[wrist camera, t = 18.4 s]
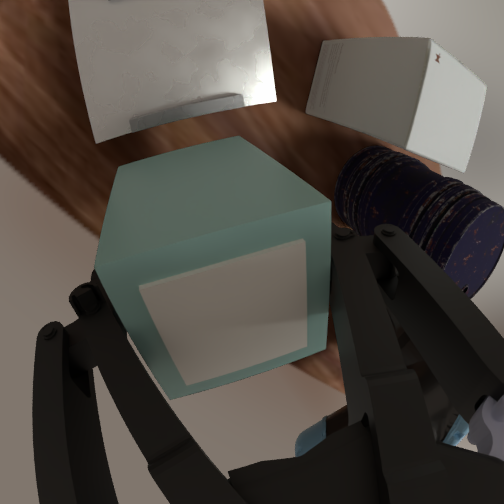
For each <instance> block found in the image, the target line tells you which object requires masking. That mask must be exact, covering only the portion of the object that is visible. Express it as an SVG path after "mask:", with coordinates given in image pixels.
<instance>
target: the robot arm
mask: <svg viewBox="0 0 504 504" xmlns="http://www.w3.org/2000/svg"><path fill="white" fill-rule="evenodd" d="M329 301H330V306H331V312H332V317H333V322H334V328H335V333H336V339H337V344H338V350H339V356H340V362H341V368H342V374H343V381H344V387H345V394H346V401H347V405H346V406H344V407H342V408H341V409H339V410H337V411H336V412H334V413H332V414H331V415H329V416H325V417H323V419H322V420H321V421H319V422H318V423H316V424H314V425H313V426H311V427H309V428H308V429H306V430H305V431H303V432H302V433H301V434H300V435H299V436H298V438H297V440H296V444H295V455H296V457H293V458H286V459H277V460H268V461H261V462H257V463H254V464H251V465H248V466H245V467H241V468H238V469H234V470H231V471H228V474H229V477H230V478H229V479H226V477H225V476H224V475H223V474H222V473H221V472H220V471H219V469H218V468H217V467H216V466H215V465H214V463H213V462H212V461H211V460H210V459H209V457H208V456H207V455H206V454H205V453H204V451H203V450H202V449H201V447H200V446H199V445H198V444H197V442H196V441H195V440H194V439H193V437H192V436H191V435H190V433H189V432H188V431H187V429H186V428H185V427H184V425H183V424H182V422H181V421H180V420H179V418H178V417H177V416H176V414H175V413H174V411H173V410H172V409H171V407H170V406H169V404H168V403H167V401H166V400H165V399H164V397H163V396H162V394H161V393H160V391H159V390H158V388H157V387H156V385H155V384H154V382H153V381H152V379H151V378H150V376H149V374H148V373H147V371H146V370H145V368H144V366H143V365H142V363H141V361H140V360H139V358H138V356H137V355H136V353H135V352H134V350H133V348H132V346H131V345H130V343H129V341H128V340H127V330H126V328H125V327H124V325H123V323H122V321H121V319H120V318H119V316H118V314H117V312H116V310H115V308H114V306H113V304H112V303H111V301H110V299H109V297H108V295H107V293H106V291H105V289H104V287H103V285H102V283H101V281H100V279H99V277H98V275H97V272H96V270H95V269H94V270H93V272H92V276H91V281H90V282H87V283H84V284H81V285H79V286H78V287H77V288H75V289H74V290H73V291H72V292H71V294H70V296H69V302H70V304H71V306H72V307H73V309H74V310H75V312H76V314H77V316H78V317H79V319H77V320H76V321H74V322H73V323H71V324H69V325H67V326H66V327H63V325H62V324H61V323H60V322H57V321H54V322H50V323H48V324H46V325H45V326H44V327H43V328H42V329H41V330H40V331H39V333H38V336H37V341H36V351H35V362H34V377H33V407H32V410H33V412H32V417H33V448H34V461H35V472H36V481H37V489H38V496H39V503H40V504H118V500H117V497H116V493H115V489H114V485H113V482H112V478H111V474H110V470H109V465H108V461H107V457H106V452H105V447H104V442H103V437H102V432H101V426H100V420H99V414H98V407H97V401H96V393H95V385H94V377H93V369H92V368H94V367H96V366H98V368H99V370H100V373H101V375H102V377H103V379H104V381H105V383H106V386H107V388H108V390H109V392H110V394H111V396H112V398H113V400H114V402H115V404H116V406H117V408H118V410H119V412H120V414H121V416H122V418H123V420H124V422H125V424H126V426H127V427H128V429H129V431H130V433H131V434H132V436H133V438H134V440H135V441H136V443H137V445H138V447H139V448H140V450H141V452H142V454H143V455H144V457H145V458H146V460H147V462H148V470H149V472H150V474H151V476H152V478H153V479H154V481H155V482H156V484H157V485H158V487H159V488H160V490H161V491H162V493H163V494H164V495H165V497H166V499H167V500H168V501H169V503H170V504H504V338H503V337H502V336H501V335H500V334H499V333H498V331H497V330H496V329H495V327H494V326H493V325H492V324H491V323H490V321H489V320H488V319H487V318H486V317H485V316H484V314H483V313H482V312H481V311H480V310H479V309H478V307H477V306H476V305H475V304H474V303H473V302H472V301H471V300H470V298H469V297H468V296H467V295H466V294H465V293H464V292H463V291H462V290H461V289H460V287H459V286H458V285H457V284H456V283H455V282H454V281H453V280H452V279H451V278H450V277H449V276H448V275H447V274H446V273H445V272H444V271H443V270H442V269H441V268H440V267H439V266H438V265H437V264H436V263H435V261H434V260H433V259H432V258H430V257H429V256H428V255H427V254H426V253H425V252H424V251H423V250H422V249H421V248H420V247H419V246H418V245H417V244H416V243H415V242H414V241H413V240H412V239H411V238H410V237H409V236H408V235H407V234H406V233H405V232H403V231H402V230H401V229H400V228H399V227H397V226H394V225H392V224H381V225H378V226H376V227H375V228H374V235H369V236H358V235H357V233H356V232H355V231H353V230H351V229H348V228H338V227H337V226H336V225H335V224H334V223H333V222H332V221H331V264H330V291H329ZM129 336H130V335H129ZM467 434H468V437H467V438H468V441H469V442H470V443H471V444H473V445H476V446H477V449H478V452H474V451H471V450H467V449H463V448H459V447H456V445H457V444H458V443H459V442H460V441H461V440H462V439H463V438H464V437H465V436H466V435H467Z"/></svg>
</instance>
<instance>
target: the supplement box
mask: <svg viewBox="0 0 504 504" xmlns="http://www.w3.org/2000/svg"><path fill="white" fill-rule="evenodd" d="M486 90H487V86H486V84H485V83H484V82H483V81H482V80H481V79H480V78H478V77H477V76H476V75H475V74H474V73H473V72H472V71H471V70H469V69H468V68H467V67H466V66H465V65H464V64H463V63H462V62H461V61H459V60H458V59H456V58H455V57H454V56H453V55H452V54H450V53H449V52H448V51H447V50H445V49H444V48H443V47H441V46H440V45H439V44H437V43H436V42H435V41H434V40H432V39H431V38H418V37H368V38H350V39H336V40H326V41H325V40H324V41H323V42H322V46H321V50H320V54H319V58H318V62H317V66H316V70H315V74H314V78H313V82H312V86H311V90H310V94H309V98H308V102H307V106H306V114H309V115H312V116H315V117H318V118H321V119H324V120H328V121H331V122H333V123H336V124H339V125H342V126H345V127H348V128H351V129H354V130H356V131H359V132H362V133H364V134H367V135H370V136H372V137H375V138H377V139H380V140H383V141H385V142H388V143H390V144H393V145H395V146H397V147H400V148H402V149H404V150H407V151H409V152H411V153H414V154H416V155H419V156H421V157H424V158H426V159H429V160H431V161H434V162H436V163H439V164H441V165H444V166H446V167H449V168H451V169H454V170H457V171H459V172H462V173H464V172H465V170H466V167H467V164H468V161H469V158H470V155H471V151H472V148H473V144H474V141H475V137H476V133H477V130H478V126H479V122H480V118H481V113H482V108H483V104H484V99H485V94H486Z"/></svg>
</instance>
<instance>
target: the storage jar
mask: <svg viewBox="0 0 504 504" xmlns="http://www.w3.org/2000/svg"><path fill="white" fill-rule="evenodd" d="M334 201H335V207H336V211H337V213H338V215H339V217H340V218H341V220H342V221H343V222H345V223H346V224H347V225H348V226H349V227H351V228H352V229H353V230H354V231H355V232H356V233H357V235H358V236H369V235H374V228H375V227H376V226H378V225H381V224H392V225H394V226H397V227H399V228H400V229H401V230H402V231H403V232H405V233H406V234H407V235H408V236H409V237H410V238H411V239H412V240H413V241H414V242H415V243H416V244H417V245H418V246H419V247H420V248H421V249H422V250H423V251H424V252H425V253H426V254H427V255H428V256H429V257H430V258H432V259H433V260H434V261H435V263H436V264H437V265H438V266H439V267H440V268H441V269H442V270H443V271H444V272H445V273H446V274H447V275H448V276H449V277H450V278H451V279H452V280H453V281H454V282H455V283H456V284H457V285H458V286H459V287H460V289H461V290H462V291H463V292H464V293H465V294H466V295H467V296H468V297H469V298H470V299H471V298H473V297H474V296H475V294H476V293H477V292H478V291H479V290H480V289H481V288H482V287H483V285H484V284H485V283H486V281H487V280H488V278H489V277H490V275H491V274H492V272H493V270H494V269H495V267H496V265H497V263H498V261H499V259H500V256H501V254H502V252H503V249H504V207H502V206H501V205H499V204H497V203H496V202H494V201H491V200H490V199H489V198H487V197H485V196H484V195H483V194H482V193H481V192H480V191H478V190H476V189H474V188H472V187H470V186H468V185H465V184H463V182H462V181H460V180H457V179H453V178H450V177H443V176H441V175H439V174H437V173H435V172H433V171H431V170H430V169H429V168H428V167H427V166H426V165H425V164H423V163H422V162H420V161H419V160H417V159H415V158H412V157H410V156H408V155H405V154H403V153H400V152H395V151H392V150H391V149H388V148H386V147H383V146H370V147H366V148H364V149H362V150H360V151H359V152H357V153H356V154H354V155H353V156H352V157H351V158H350V159H349V160H348V161H347V163H346V164H345V165H344V167H343V169H342V170H341V172H340V174H339V176H338V179H337V182H336V186H335V193H334Z"/></svg>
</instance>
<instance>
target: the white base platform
mask: <svg viewBox="0 0 504 504" xmlns="http://www.w3.org/2000/svg"><path fill="white" fill-rule="evenodd" d="M68 2H69V11H70V19H71V27H72V34H73V40H74V46H75V52H76V58H77V64H78V69H79V74H80V79H81V84H82V89H83V93H84V98H85V102H86V107H87V111H88V115H89V119H90V123H91V127H92V131H93V135H94V138H95V142H96V144H97V143H100V142H103V141H106V140H109V139H112V138H115V137H118V136H121V135H124V134H128V133H131V132H132V133H133V132H137V131H140V130H144V129H147V128H151V127H154V126H158V125H162V124H166V123H170V122H174V121H178V120H182V119H186V118H191V117H195V116H200V115H204V114H209V113H214V112H219V111H224V110H230V109H235V108H241V107H245V106H249V105H255V104H262V103H269V102H276V93H275V84H274V76H273V68H272V60H271V53H270V45H269V38H268V31H267V24H266V17H265V10H264V4H263V0H68Z"/></svg>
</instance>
